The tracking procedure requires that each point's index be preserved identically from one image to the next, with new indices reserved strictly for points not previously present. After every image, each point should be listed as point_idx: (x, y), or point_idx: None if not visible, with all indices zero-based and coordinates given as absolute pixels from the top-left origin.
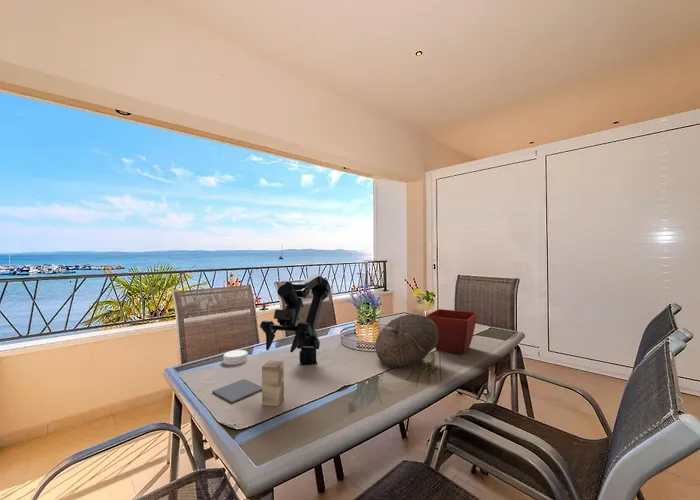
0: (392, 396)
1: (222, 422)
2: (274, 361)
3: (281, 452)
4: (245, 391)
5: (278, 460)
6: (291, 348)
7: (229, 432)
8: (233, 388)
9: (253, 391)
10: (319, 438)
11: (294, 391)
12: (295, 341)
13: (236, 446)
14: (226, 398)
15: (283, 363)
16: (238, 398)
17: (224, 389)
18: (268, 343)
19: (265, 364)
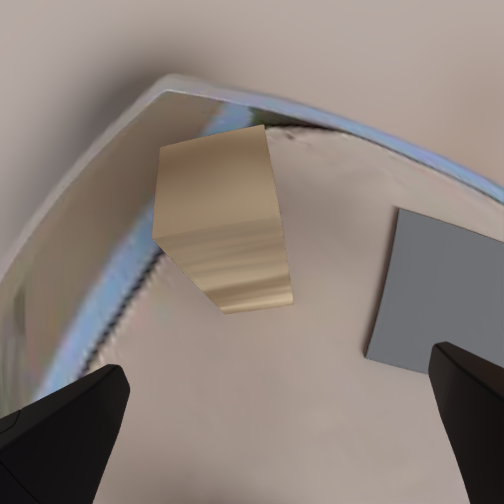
0: None
1: (330, 133)
2: (221, 208)
3: (135, 121)
4: (419, 292)
5: (135, 110)
6: (97, 374)
7: (277, 115)
8: (479, 294)
9: (387, 305)
10: (76, 177)
11: (209, 386)
12: (22, 409)
13: (228, 97)
14: (435, 220)
15: (159, 242)
16: (397, 234)
17: (497, 273)
18: (467, 378)
19: (256, 147)
